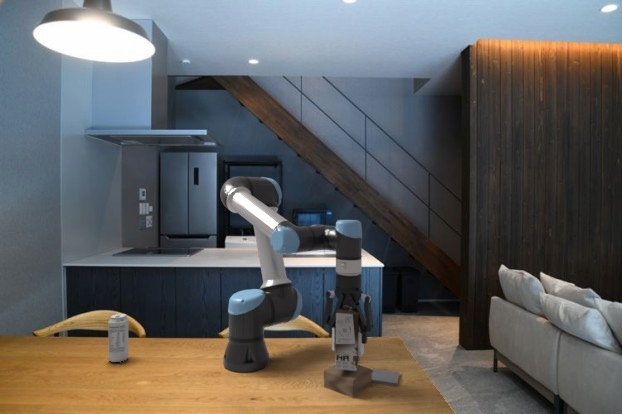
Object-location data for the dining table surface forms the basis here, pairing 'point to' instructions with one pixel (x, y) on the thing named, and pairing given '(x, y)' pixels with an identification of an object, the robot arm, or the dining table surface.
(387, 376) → the slate coaster
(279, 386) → the dining table surface
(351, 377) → the walnut block
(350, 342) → the coffee box
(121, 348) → the energy drink can
